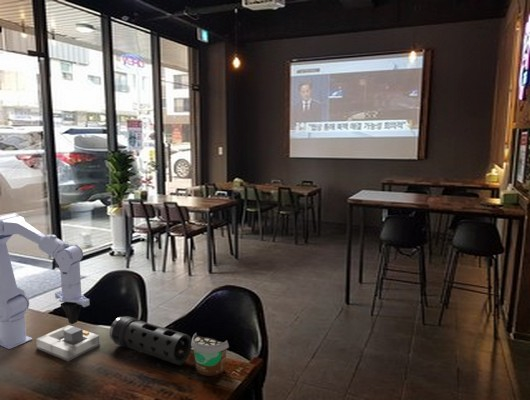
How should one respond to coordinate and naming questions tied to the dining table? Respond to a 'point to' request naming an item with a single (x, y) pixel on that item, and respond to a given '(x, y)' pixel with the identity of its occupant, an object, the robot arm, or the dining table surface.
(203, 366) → the food container
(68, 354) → the double socket
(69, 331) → the plug
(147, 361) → the dining table surface
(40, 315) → the dining table surface
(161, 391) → the dining table surface
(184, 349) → the muzzle brake
